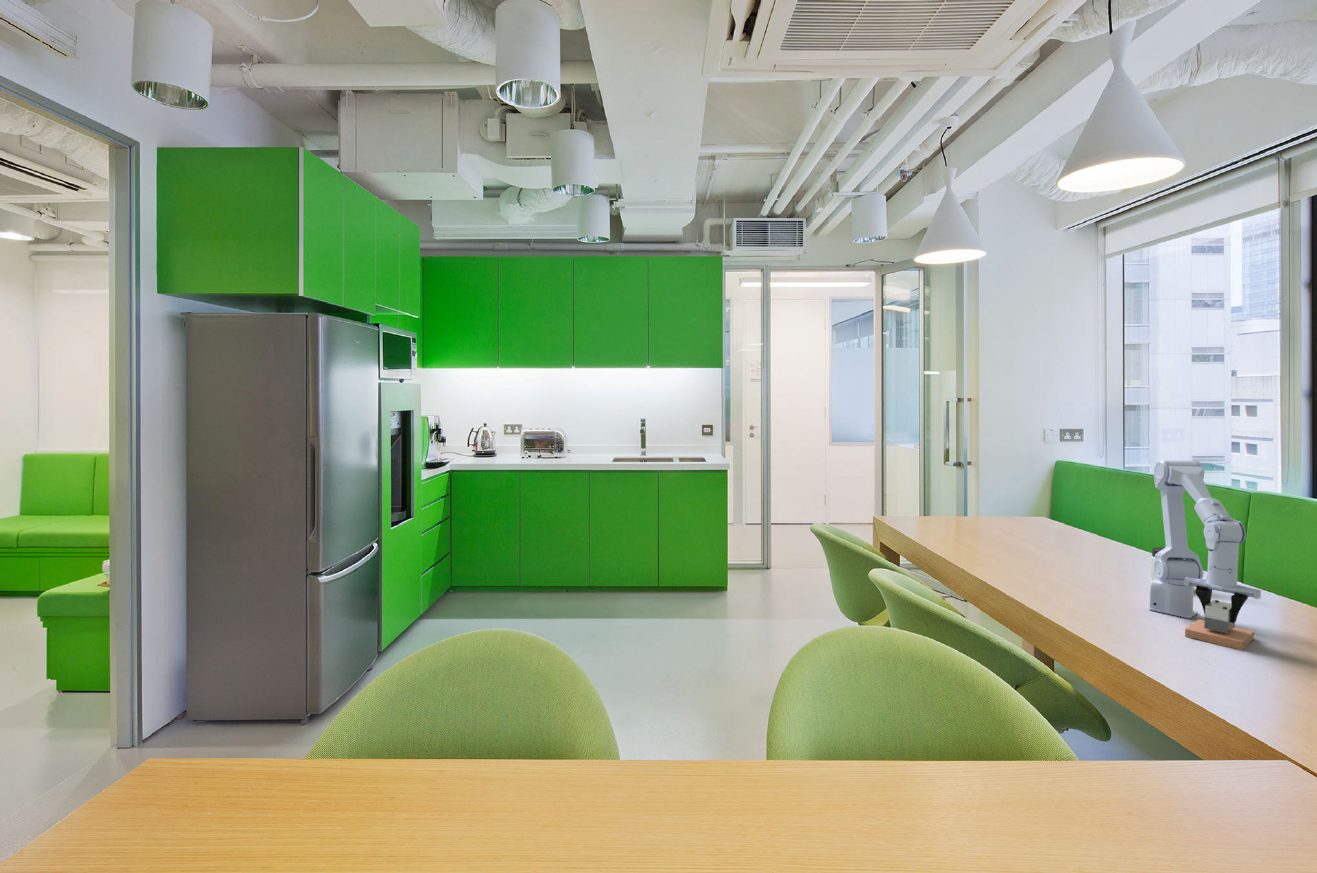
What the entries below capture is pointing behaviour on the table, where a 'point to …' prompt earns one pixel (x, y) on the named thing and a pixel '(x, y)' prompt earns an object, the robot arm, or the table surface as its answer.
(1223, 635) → the stand
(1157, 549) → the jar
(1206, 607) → the block
